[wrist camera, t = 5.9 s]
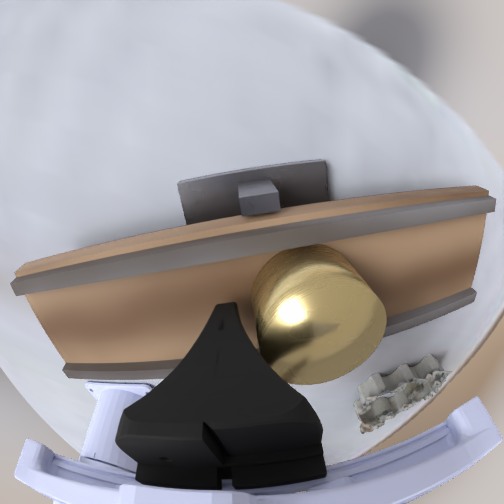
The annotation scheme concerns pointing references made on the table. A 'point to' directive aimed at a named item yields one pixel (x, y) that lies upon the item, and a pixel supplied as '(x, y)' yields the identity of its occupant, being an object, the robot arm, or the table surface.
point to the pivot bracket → (253, 190)
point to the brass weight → (314, 315)
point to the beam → (248, 275)
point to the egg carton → (410, 392)
